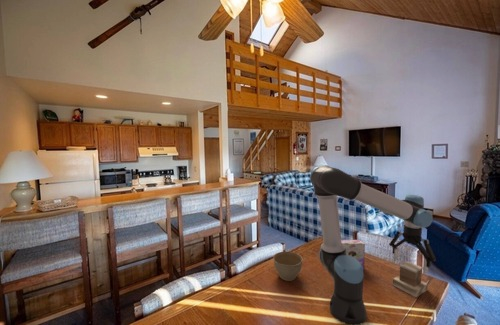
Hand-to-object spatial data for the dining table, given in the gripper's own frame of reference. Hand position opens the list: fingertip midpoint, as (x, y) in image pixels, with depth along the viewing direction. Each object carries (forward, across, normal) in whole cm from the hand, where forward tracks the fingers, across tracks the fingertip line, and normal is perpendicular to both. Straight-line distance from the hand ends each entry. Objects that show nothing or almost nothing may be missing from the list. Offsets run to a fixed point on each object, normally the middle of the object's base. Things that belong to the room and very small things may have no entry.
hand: (410, 266), depth 115 cm
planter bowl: (+13, +41, +46) cm, 63 cm away
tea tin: (+8, 0, -1) cm, 8 cm away
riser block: (+12, 0, 0) cm, 12 cm away
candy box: (+12, +28, +8) cm, 31 cm away
